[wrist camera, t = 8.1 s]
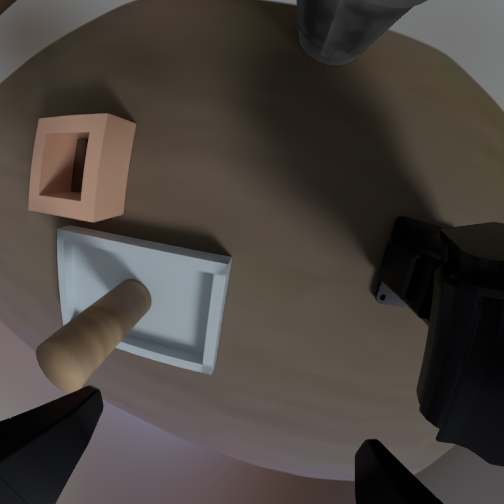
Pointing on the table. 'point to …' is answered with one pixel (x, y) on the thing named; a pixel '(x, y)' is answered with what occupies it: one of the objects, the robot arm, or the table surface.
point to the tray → (158, 284)
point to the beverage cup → (345, 26)
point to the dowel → (92, 335)
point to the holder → (95, 169)
